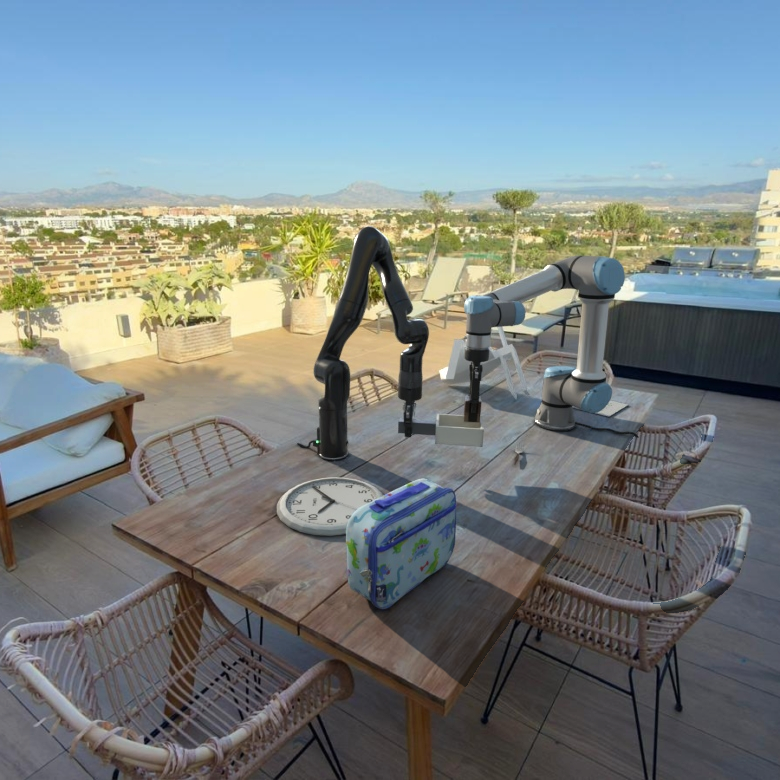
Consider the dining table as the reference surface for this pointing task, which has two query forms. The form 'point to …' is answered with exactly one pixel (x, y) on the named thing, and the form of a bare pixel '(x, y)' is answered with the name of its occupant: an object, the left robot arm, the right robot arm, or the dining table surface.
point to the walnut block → (466, 409)
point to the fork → (518, 452)
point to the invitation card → (611, 408)
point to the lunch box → (400, 540)
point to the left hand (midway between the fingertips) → (408, 434)
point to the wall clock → (324, 504)
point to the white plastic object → (483, 364)
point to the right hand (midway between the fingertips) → (472, 418)
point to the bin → (448, 430)
